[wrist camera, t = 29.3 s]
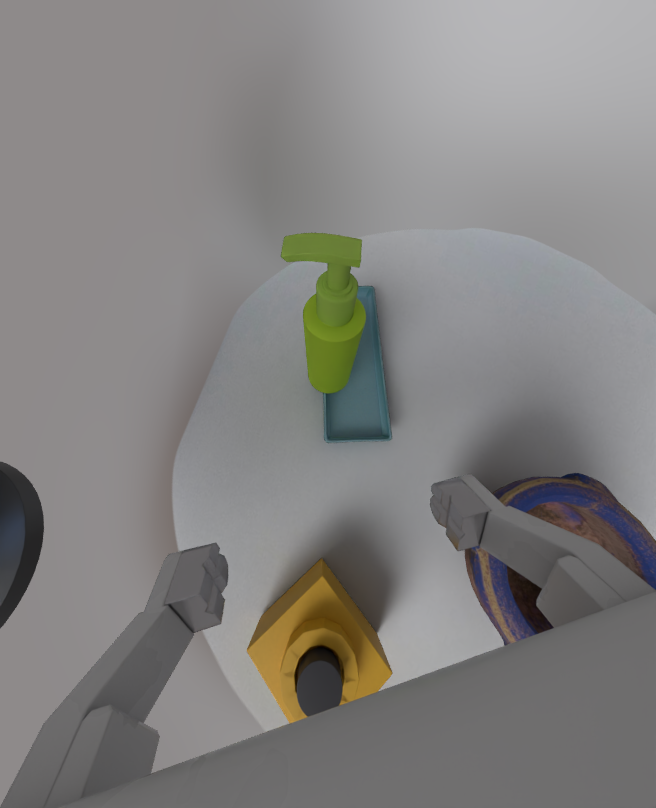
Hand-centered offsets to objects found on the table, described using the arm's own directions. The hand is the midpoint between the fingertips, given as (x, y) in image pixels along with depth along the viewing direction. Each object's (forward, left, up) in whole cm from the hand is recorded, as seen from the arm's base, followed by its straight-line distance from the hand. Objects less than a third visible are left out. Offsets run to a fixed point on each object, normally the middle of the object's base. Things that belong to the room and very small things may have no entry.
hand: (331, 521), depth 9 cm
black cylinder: (+11, -9, -17) cm, 22 cm away
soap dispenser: (-12, +11, -22) cm, 28 cm away
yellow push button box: (+11, -9, -25) cm, 28 cm away
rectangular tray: (-12, +16, -25) cm, 32 cm away
